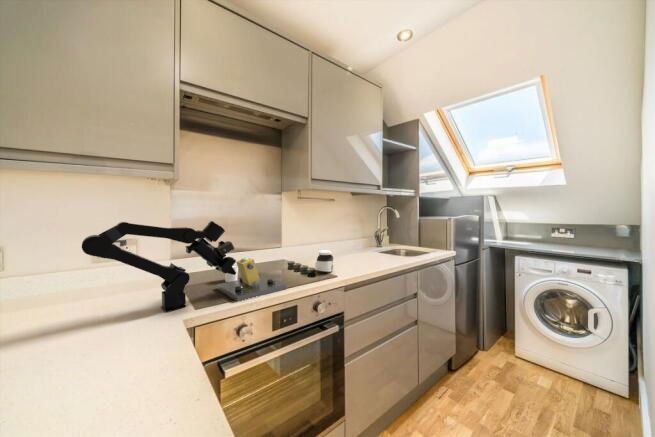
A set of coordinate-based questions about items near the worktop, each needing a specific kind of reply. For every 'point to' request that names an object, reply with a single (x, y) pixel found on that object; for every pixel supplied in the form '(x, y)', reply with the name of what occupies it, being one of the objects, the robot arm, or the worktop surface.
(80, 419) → the worktop surface
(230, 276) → the white cup
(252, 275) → the yellow rectangular block
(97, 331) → the worktop surface
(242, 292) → the tribrach plate
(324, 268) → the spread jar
